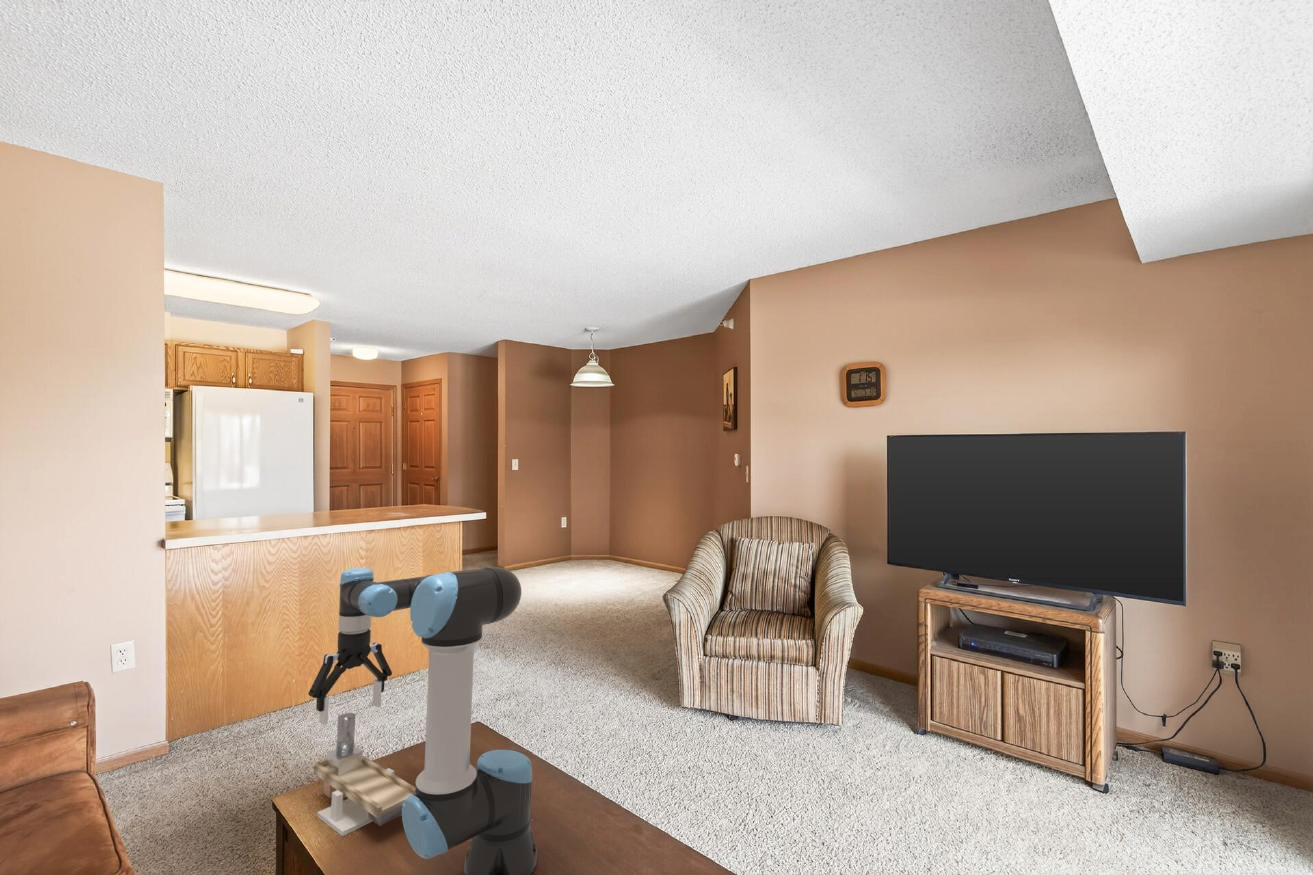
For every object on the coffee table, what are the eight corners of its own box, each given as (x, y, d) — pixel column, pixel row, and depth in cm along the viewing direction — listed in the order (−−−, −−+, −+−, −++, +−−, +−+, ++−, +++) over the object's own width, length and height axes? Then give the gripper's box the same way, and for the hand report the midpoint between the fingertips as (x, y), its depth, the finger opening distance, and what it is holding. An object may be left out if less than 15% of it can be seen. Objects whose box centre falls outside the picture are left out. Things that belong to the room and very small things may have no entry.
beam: (418, 807, 142) (419, 786, 142) (375, 829, 133) (376, 806, 134) (353, 766, 160) (354, 747, 160) (312, 783, 151) (313, 763, 151)
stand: (406, 804, 149) (407, 776, 150) (342, 836, 136) (343, 805, 137) (363, 776, 161) (365, 750, 162) (300, 803, 148) (302, 774, 149)
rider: (361, 766, 153) (364, 715, 153) (338, 776, 148) (340, 723, 149) (349, 759, 156) (352, 709, 157) (326, 768, 152) (329, 716, 152)
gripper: (392, 617, 165) (389, 695, 164) (295, 638, 145) (291, 726, 144) (407, 622, 160) (404, 702, 160) (310, 644, 140) (306, 735, 139)
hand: (350, 714), depth 152 cm, fingers open, 13 cm apart
